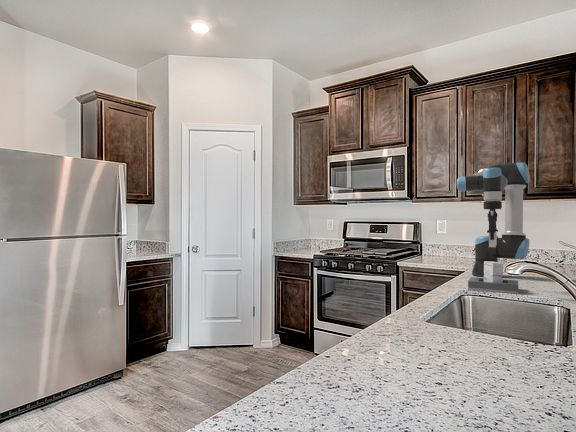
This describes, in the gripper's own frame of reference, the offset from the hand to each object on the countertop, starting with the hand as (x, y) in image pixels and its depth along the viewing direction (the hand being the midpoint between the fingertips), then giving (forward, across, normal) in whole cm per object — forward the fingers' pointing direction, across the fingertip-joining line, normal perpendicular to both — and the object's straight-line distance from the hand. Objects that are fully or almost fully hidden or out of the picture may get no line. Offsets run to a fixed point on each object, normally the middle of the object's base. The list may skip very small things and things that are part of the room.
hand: (492, 246), depth 176 cm
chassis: (+20, 0, 0) cm, 20 cm away
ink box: (+19, 0, 0) cm, 19 cm away
